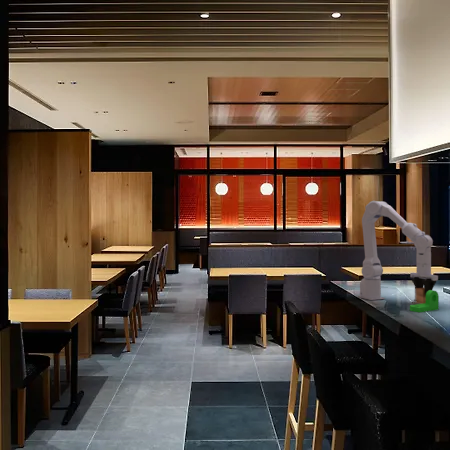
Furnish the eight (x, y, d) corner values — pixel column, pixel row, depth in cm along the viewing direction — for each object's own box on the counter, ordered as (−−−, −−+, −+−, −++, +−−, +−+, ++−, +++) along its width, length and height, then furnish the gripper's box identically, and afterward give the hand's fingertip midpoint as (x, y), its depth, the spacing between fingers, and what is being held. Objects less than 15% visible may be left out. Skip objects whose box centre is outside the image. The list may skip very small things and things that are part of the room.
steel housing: (413, 301, 226) (413, 286, 226) (420, 300, 227) (420, 286, 227) (424, 303, 219) (424, 288, 219) (431, 303, 220) (431, 288, 220)
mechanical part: (425, 307, 209) (425, 288, 209) (438, 310, 204) (438, 290, 204) (406, 310, 203) (406, 290, 203) (419, 312, 198) (419, 292, 198)
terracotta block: (424, 301, 217) (423, 287, 217) (430, 302, 213) (430, 288, 213) (416, 302, 216) (416, 288, 216) (422, 303, 212) (422, 289, 212)
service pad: (411, 304, 217) (411, 301, 217) (422, 303, 219) (422, 301, 219) (423, 306, 210) (423, 304, 210) (434, 306, 212) (434, 303, 212)
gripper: (404, 262, 220) (404, 294, 220) (427, 265, 206) (428, 298, 207) (417, 262, 222) (418, 293, 223) (442, 264, 209) (442, 297, 209)
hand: (423, 296), depth 215 cm, fingers open, 4 cm apart
